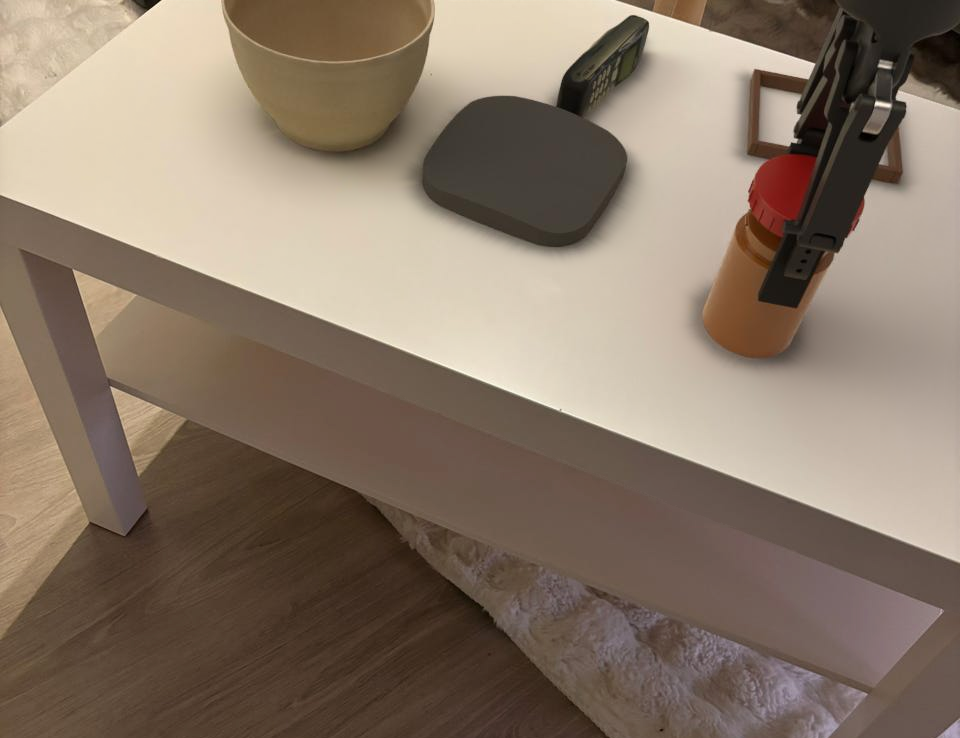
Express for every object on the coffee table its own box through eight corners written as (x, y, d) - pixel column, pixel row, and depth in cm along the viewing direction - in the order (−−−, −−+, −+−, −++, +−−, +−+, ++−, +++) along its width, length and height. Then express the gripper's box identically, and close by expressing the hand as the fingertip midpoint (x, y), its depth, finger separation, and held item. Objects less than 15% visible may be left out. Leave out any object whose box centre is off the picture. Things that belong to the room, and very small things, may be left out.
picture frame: (886, 115, 95) (896, 95, 94) (892, 192, 89) (903, 172, 87) (747, 88, 95) (754, 68, 94) (743, 163, 89) (751, 142, 87)
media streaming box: (570, 268, 80) (577, 239, 77) (404, 202, 82) (406, 171, 80) (634, 165, 88) (642, 135, 85) (481, 107, 90) (484, 77, 87)
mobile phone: (586, 88, 85) (665, 6, 92) (555, 74, 86) (635, -6, 93) (576, 138, 89) (652, 56, 96) (547, 125, 90) (624, 44, 97)
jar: (789, 308, 80) (840, 204, 71) (789, 374, 76) (843, 272, 67) (701, 290, 80) (742, 184, 71) (696, 355, 76) (738, 251, 68)
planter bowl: (448, 90, 91) (458, -31, 82) (396, 204, 82) (400, 83, 73) (275, 49, 92) (266, -76, 83) (205, 157, 83) (186, 31, 74)
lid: (745, 234, 66) (752, 215, 65) (748, 163, 70) (755, 144, 69) (858, 255, 66) (867, 238, 65) (855, 183, 70) (863, 165, 69)
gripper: (848, -170, 59) (730, 162, 78) (860, 23, 47) (719, 355, 67) (978, -146, 58) (828, 181, 78) (1020, 52, 47) (833, 377, 66)
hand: (778, 261), depth 72 cm, fingers closed on lid, 7 cm apart
